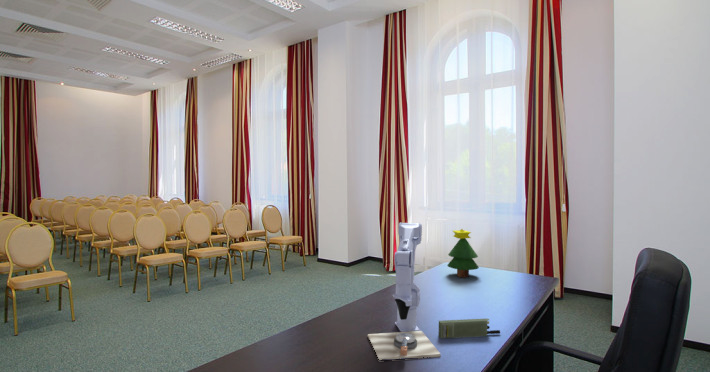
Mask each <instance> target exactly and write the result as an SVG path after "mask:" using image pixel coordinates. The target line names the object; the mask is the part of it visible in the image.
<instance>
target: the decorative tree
mask: <svg viewBox="0 0 710 372" xmlns="http://www.w3.org/2000/svg"><path fill="white" fill-rule="evenodd" d="M452 232H453V233H454V235H452V237H454V238H456V239H459V240H458V241H457V243H456V244H455V245H454V246H453V248H452V249H451V250H450V252H449V253H448V256H449V257H452V259H450V261H449V262H448V264H447V266H446V267H447V268H451V269H454V270H456V277H458V276H459V278H469V277H470V271H473V270H478V269H479V265H478V264H477V263H476V261H475V260H474V259H476V258H478V257H479V256H478V254H477V252H476V251H475V250H474V249H473V247H472V245H471V244H470V242H469V241H468V239H471V237H470V234H471V233H472V232H471V231H468V230H465V229H463V228H461V229H460V230H456V229H455V230H452Z"/></svg>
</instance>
